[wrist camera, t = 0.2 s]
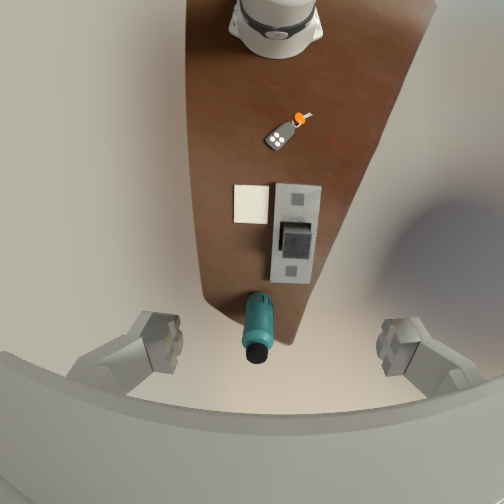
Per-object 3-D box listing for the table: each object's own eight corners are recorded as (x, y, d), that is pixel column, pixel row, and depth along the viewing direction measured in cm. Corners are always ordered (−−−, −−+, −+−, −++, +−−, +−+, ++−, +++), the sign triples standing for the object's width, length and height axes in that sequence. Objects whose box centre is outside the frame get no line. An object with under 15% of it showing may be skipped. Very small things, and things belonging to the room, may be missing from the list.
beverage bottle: (244, 307, 67) (236, 367, 49) (248, 285, 64) (241, 343, 46) (270, 311, 67) (270, 372, 49) (276, 289, 64) (277, 348, 46)
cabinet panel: (275, 181, 54) (276, 183, 52) (319, 184, 54) (321, 186, 52) (270, 277, 63) (270, 282, 61) (308, 279, 63) (309, 284, 61)
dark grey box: (282, 220, 57) (283, 232, 51) (307, 222, 57) (312, 233, 51) (280, 244, 60) (281, 258, 53) (305, 245, 59) (309, 259, 53)
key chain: (277, 152, 52) (277, 153, 51) (263, 139, 51) (263, 140, 50) (322, 110, 48) (323, 109, 47) (309, 97, 47) (310, 96, 46)
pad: (234, 184, 55) (234, 184, 55) (269, 185, 55) (269, 186, 54) (234, 221, 58) (234, 222, 58) (267, 223, 58) (267, 223, 57)
